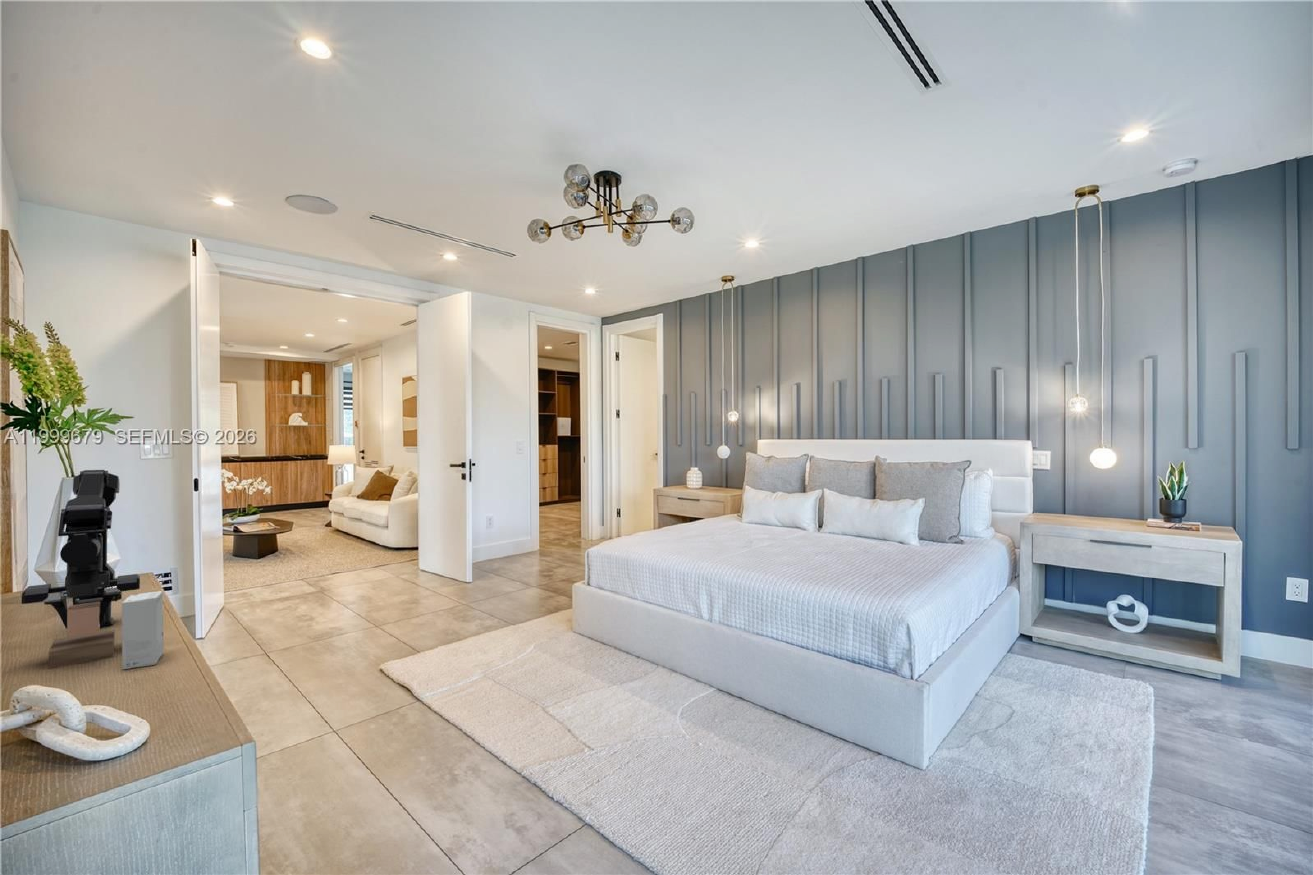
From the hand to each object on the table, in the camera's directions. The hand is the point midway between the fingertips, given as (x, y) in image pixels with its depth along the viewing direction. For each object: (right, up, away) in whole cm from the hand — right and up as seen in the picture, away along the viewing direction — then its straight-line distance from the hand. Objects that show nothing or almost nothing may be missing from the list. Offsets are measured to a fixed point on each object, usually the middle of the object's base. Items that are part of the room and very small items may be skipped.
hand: (83, 625), depth 128 cm
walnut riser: (0, -7, 0) cm, 7 cm away
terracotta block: (0, -2, 0) cm, 2 cm away
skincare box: (+16, -7, -3) cm, 18 cm away
